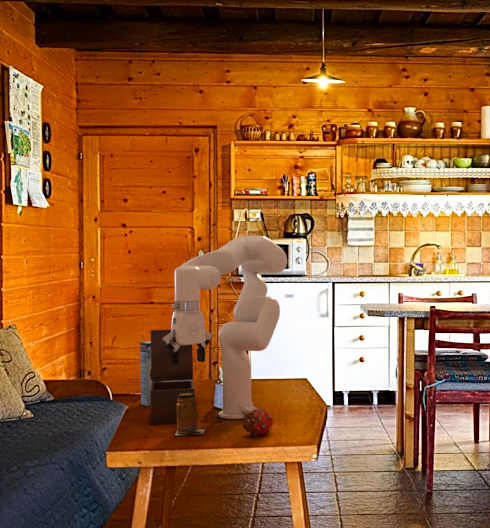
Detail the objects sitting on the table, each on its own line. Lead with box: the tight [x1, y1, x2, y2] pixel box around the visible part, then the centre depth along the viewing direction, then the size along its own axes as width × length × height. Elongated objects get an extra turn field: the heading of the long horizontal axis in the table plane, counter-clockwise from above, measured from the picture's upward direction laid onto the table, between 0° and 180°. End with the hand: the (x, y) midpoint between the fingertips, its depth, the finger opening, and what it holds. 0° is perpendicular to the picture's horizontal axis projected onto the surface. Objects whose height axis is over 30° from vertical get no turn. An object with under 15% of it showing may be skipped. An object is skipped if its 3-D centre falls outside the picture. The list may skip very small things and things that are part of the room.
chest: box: [150, 380, 195, 425], centre depth 281 cm, size 17×14×11 cm
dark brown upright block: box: [150, 328, 194, 381], centre depth 290 cm, size 18×14×5 cm
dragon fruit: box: [242, 408, 274, 437], centre depth 254 cm, size 8×8×12 cm
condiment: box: [174, 392, 206, 437], centre depth 258 cm, size 7×8×12 cm
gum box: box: [139, 340, 194, 407], centre depth 310 cm, size 20×5×23 cm, turn 134°
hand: (188, 363), depth 257 cm, fingers open, 9 cm apart
